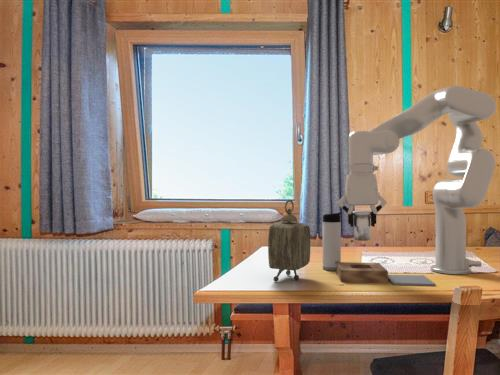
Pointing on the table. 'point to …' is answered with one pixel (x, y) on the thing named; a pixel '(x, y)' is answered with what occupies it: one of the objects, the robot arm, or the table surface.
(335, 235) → the travel mug
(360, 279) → the brown wooden square slab
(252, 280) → the table surface
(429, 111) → the robot arm
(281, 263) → the tabletop clock
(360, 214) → the end cap
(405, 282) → the mat
